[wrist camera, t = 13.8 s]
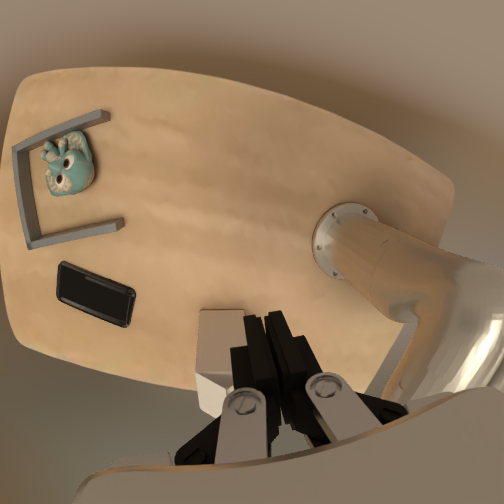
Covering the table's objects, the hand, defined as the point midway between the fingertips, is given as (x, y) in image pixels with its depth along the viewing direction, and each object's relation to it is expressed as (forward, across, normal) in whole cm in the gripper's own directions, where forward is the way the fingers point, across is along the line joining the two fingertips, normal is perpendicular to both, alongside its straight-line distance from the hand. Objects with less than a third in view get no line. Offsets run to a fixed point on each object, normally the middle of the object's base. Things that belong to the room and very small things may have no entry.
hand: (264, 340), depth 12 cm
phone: (+30, +25, +9) cm, 40 cm away
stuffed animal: (+30, +24, -13) cm, 40 cm away
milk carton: (+29, +4, +18) cm, 35 cm away
